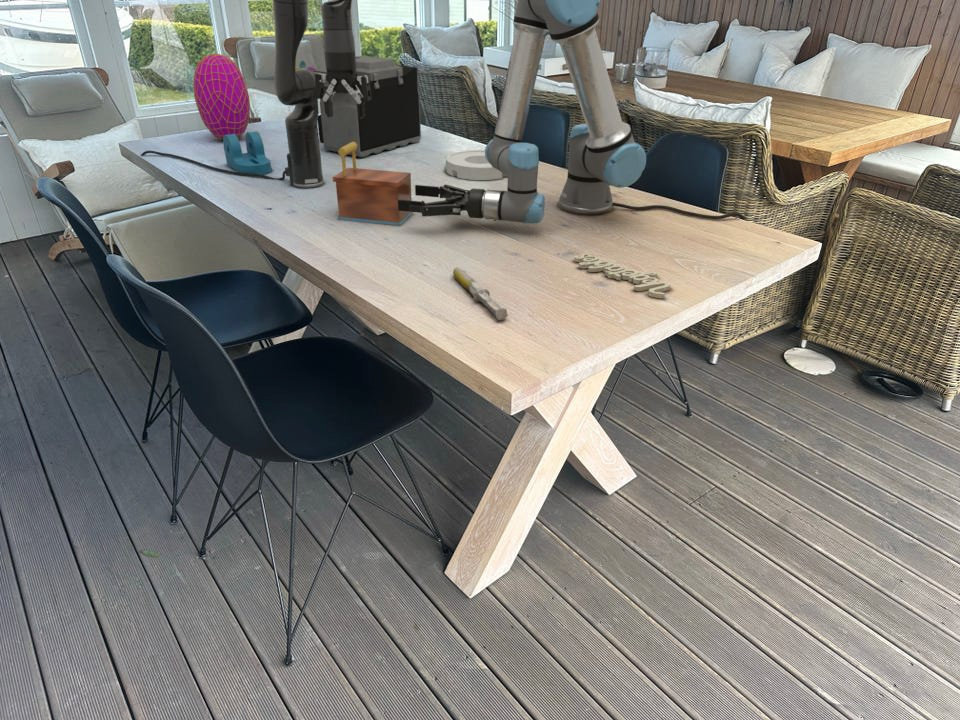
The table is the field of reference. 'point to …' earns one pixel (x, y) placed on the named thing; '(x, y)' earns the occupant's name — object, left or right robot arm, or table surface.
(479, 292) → the syringe
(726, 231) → the table surface
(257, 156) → the camera mount
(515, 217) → the right robot arm
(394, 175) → the lid
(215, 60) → the decorative egg
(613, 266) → the decorative sign
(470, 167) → the ashtray
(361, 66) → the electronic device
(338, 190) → the chest
